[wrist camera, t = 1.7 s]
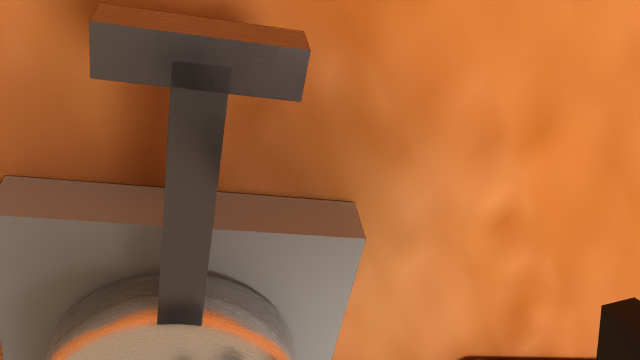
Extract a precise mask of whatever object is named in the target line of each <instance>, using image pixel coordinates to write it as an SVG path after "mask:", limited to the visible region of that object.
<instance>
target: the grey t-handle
mask: <svg viewBox="0 0 640 360" xmlns="http://www.w3.org/2000/svg"><path fill="white" fill-rule="evenodd" d="M89 36H90V78H93V79H102V80H111V81H119V82H128V83H137V84H146V85H155V86H164V87H171V89H170V106H169V123H168V141H167V158H166V175H165V192H164V210H163V227H162V244H161V261H160V273H159V274H149V275H143V276H138V277H133V278H129V279H126V280H123V281H120V282H116V283H114V284H111V285H109V286H107V287H104V288H102V289H100V290H98V291H96V292H94V293H93V294H91V295H89V296H88V297H86V298H85V299H83V300H82V301H81V302H79V303H78V304H77V305H75V306H74V307H73V308H72V309H71V310H70V311H69V312H68V313H67V314H66V315H65V317H64V318H63V319H62V321H61V322H60V324H59V325H58V327H57V329H56V331H55V333H54V335H53V338H52V341H51V344H50V347H49V350H48V353H47V357H46V360H295V354H294V346H293V341H292V337H291V333H290V331H289V328H288V326H287V324H286V322H285V321H284V319H283V318H282V317H281V315H280V314H279V313H278V311H277V310H276V309H275V308H274V307H273V306H272V305H271V304H270V303H268V302H267V301H266V300H264V299H263V298H262V297H261V296H259V295H257V294H256V293H254V292H252V291H251V290H249V289H247V288H245V287H242V286H240V285H238V284H236V283H233V282H230V281H227V280H223V279H220V278H216V277H211V276H207V274H208V265H209V257H210V248H211V239H212V230H213V221H214V213H215V204H216V195H217V186H218V177H219V168H220V160H221V151H222V142H223V133H224V124H225V115H226V107H227V98H228V94H235V95H244V96H253V97H262V98H270V99H279V100H288V101H297V102H301V99H302V94H303V88H304V83H305V77H306V72H307V66H308V61H309V56H310V47H309V45H308V42H307V39H306V36H305V33H304V31H298V30H291V29H284V28H276V27H269V26H262V25H255V24H248V23H240V22H233V21H226V20H219V19H212V18H204V17H197V16H190V15H183V14H176V13H168V12H161V11H154V10H147V9H140V8H132V7H125V6H118V5H111V4H104V3H100V4H99V5H98V7H97V9H96V10H95V12H94V14H93V15H92V17H91V19H90V21H89Z"/></svg>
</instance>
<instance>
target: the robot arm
mask: <svg viewBox="0 0 640 360" xmlns="http://www.w3.org/2000/svg"><path fill="white" fill-rule="evenodd" d="M596 360H640V301H639V300H638V299H636V298H635V297H634V298H630V299H626V300H622V301H618V302H614V303H610V304H606V305H602V308H601V319H600V329H599V339H598V349H597V359H596Z"/></svg>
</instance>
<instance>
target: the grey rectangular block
mask: <svg viewBox="0 0 640 360" xmlns="http://www.w3.org/2000/svg"><path fill="white" fill-rule="evenodd" d="M164 192H165V188H161V187H148V186H135V185H122V184H109V183H96V182H83V181H70V180H57V179H44V178H31V177H18V176H5V177H4V179H3V181H2V182H1V184H0V341H1V349H2V356H3V360H46V357H47V353H48V350H49V347H50V344H51V341H52V338H53V335H54V333H55V331H56V329H57V327H58V325H59V324H60V322H61V321H62V319H63V318H64V317H65V315H66V314H67V313H68V312H69V311H70V310H71V309H72V308H73V307H74V306H75V305H77V304H78V303H79V302H81V301H82V300H83V299H85V298H86V297H88V296H89V295H91V294H93V293H94V292H96V291H98V290H100V289H102V288H104V287H107V286H109V285H111V284H114V283H116V282H120V281H123V280H126V279H129V278H133V277H138V276H143V275H149V274H159V273H160V261H161V244H162V227H163V210H164ZM365 241H366V237H365V234H364V231H363V228H362V225H361V221H360V218H359V215H358V212H357V209H356V206H355V203H354V202H343V201H330V200H317V199H304V198H291V197H278V196H265V195H252V194H239V193H226V192H217V195H216V204H215V213H214V221H213V230H212V239H211V248H210V257H209V265H208V274H207V276H211V277H216V278H220V279H223V280H227V281H230V282H233V283H236V284H238V285H240V286H242V287H245V288H247V289H249V290H251V291H252V292H254V293H256V294H257V295H259V296H261V297H262V298H263V299H264V300H266V301H267V302H268V303H270V304H271V305H272V306H273V307H274V308H275V309H276V310H277V311H278V313H279V314H280V315H281V317H282V318H283V319H284V321H285V322H286V324H287V326H288V328H289V331H290V333H291V337H292V341H293V346H294V354H295V360H332V356H333V353H334V349H335V346H336V342H337V339H338V335H339V332H340V328H341V325H342V321H343V318H344V314H345V311H346V307H347V304H348V300H349V297H350V293H351V290H352V286H353V283H354V279H355V276H356V272H357V269H358V265H359V262H360V258H361V255H362V251H363V248H364V244H365Z"/></svg>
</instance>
